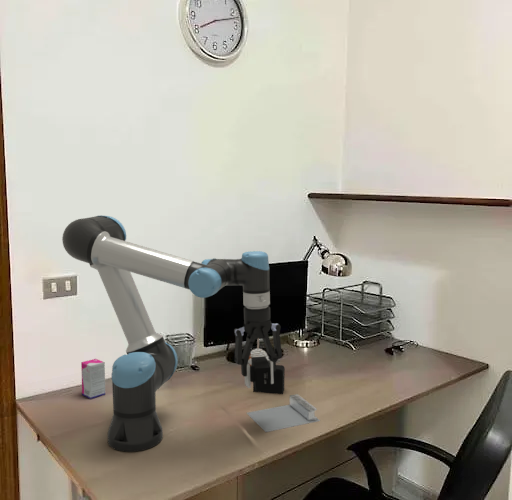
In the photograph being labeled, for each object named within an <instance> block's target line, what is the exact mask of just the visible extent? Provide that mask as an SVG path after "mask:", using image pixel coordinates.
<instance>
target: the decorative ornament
mask: <svg viewBox="0 0 512 500" xmlns="http://www.w3.org/2000/svg"><path fill="white" fill-rule="evenodd" d="M256 340H257V341H256V344H257V345H256V348H255V349H251V353H250V356H249V360H248V364H249V365H250V366H252V361H251V358H252V357H266V359H270V358H269V355H268V352H267V351H265V350H264V349H262V348H260V338H258V339H256Z"/></svg>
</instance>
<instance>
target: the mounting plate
mask: <svg viewBox="0 0 512 500" xmlns="http://www.w3.org/2000/svg"><path fill="white" fill-rule="evenodd" d="M246 414H247V415H248V416H249V417H250V418H251V419H252V420H253V422H254V423H255V424H257V425H258V427H260V428H261V429H262V430H263V431H264V432H265V433H269V432H275V431H278V430H282V429H288V428H294V427H298V426H302V425H307V424H313V423H317V422H320V421H321V420H320V419H319V418H318V417H317V420H313V421H307V420H306V419H305V418H304V417H302V416H301V415H300V414H299V413H297V412H296V411H295V410H294V409H293V408H291V407H290V404H285V405H279V406H275V407H270V408H269V407H268V408H265V409H259V410H253V411H248V412H246Z"/></svg>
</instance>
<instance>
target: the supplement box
mask: <svg viewBox="0 0 512 500" xmlns="http://www.w3.org/2000/svg"><path fill="white" fill-rule="evenodd" d="M105 367H106V366H105V362H104V361H102V360H100V359H97V358H93V359H89V360H85V361H82V362H81V368H80V369H81V396H83V397H86V398H88V399H89V400H93V399H95V398H99V397H102V396H105V395H106V370H105V369H106V368H105Z"/></svg>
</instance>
